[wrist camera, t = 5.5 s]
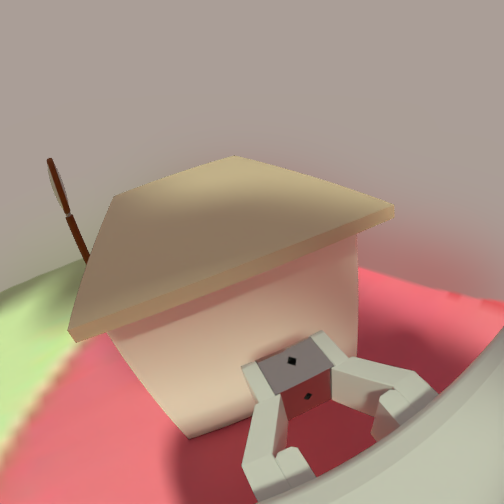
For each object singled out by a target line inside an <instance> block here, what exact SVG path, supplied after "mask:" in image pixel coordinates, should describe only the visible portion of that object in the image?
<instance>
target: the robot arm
mask: <svg viewBox="0 0 504 504" xmlns="http://www.w3.org/2000/svg"><path fill="white" fill-rule="evenodd" d="M241 370H242V373H243V375H244V378H245V380H246V383H247V385H248V388H249V390H250V392H251V395H252V397H253V399H254V401H255V403H256V405H255V406H254V411H253V415H252V420H251V425H250V429H249V434H248V439H247V443H246V448H245V452H244V457H243V461H242V465H241V466H242V468H243V471H244V473H245V475H246V477H247V480H248V482H249V484H250V486H251V488H252V490H253V493H254V495H255V497H256V499H257V501H258V503H255V504H504V326H503V328H502V329H501V330H500V331H499V333H498V334H497V335H496V336H495V337H494V339H493V340H492V341H491V342H490V343H489V344H488V346H487V347H486V348H485V349H484V350H483V351H482V352H481V353H480V355H479V356H478V357H477V358H476V359H475V360H474V361H473V362H472V363H471V364H470V365H469V366H468V367H467V368H466V369H465V370H464V371H463V372H462V373H461V374H460V375H459V376H458V377H457V378H456V379H455V380H454V381H453V382H452V383H451V384H450V385H449V386H448V387H447V388H446V389H444V390H443V391H442V392H441V393H440V394H438V393H437V392H436V391H435V390H434V389H433V388H432V387H431V386H430V385H429V384H428V383H426V382H425V381H424V380H423V379H422V378H421V377H420V376H419V375H418V374H417V373H416V372H415V371H412V370H407V369H403V368H398V367H394V366H390V365H386V364H381V363H377V362H373V361H369V360H365V359H362V358H358V357H354V356H352V357H350V358H349V357H348V356H347V355H346V354H345V353H344V352H343V351H342V350H341V349H340V348H339V347H338V346H337V345H336V344H335V343H334V342H333V340H332V339H331V338H330V337H329V336H328V335H327V334H326V333H325V332H324V331H322V330H320V331H318V332H316V333H314V334H312V335H310V336H308V337H305V338H303V339H301V340H299V341H297V342H295V343H293V344H291V345H289V346H287V347H285V348H282V349H281V350H279V351H277V352H274V353H272V354H269V355H267V356H264V357H262V358H259V359H257V360H255V361H252V362H250V363H247V364H245V365H242V366H241ZM330 399H332V400H333V401H336V402H338V403H340V404H343V405H345V406H348V407H350V408H352V409H355V410H357V411H360V412H362V413H365V414H367V415H370V416H373V417H375V418H374V422H373V426H372V430H371V433H370V434H371V435H372V436H373V437H374V439H375V440H376V441H377V443H375V444H374V445H372V446H370V447H369V448H367V449H366V450H364V451H363V452H361V453H359V454H358V455H356V456H354V457H353V458H351V459H349V460H348V461H346V462H344V463H342V464H341V465H339V466H337V467H335V468H333V469H332V470H330V471H328V472H326V473H324V474H322V475H320V476H318V477H316V476H315V474H314V473H313V471H312V470H311V468H310V466H309V465H308V463H307V462H306V460H305V459H304V457H303V455H302V454H301V452H300V451H299V449H298V448H297V447H289V448H287V449H286V443H287V432H288V421H289V420H291V419H293V418H295V417H297V416H299V415H301V414H303V413H305V412H306V411H308V410H310V409H312V408H314V407H316V406H318V405H320V404H322V403H324V402H326V401H328V400H330Z"/></svg>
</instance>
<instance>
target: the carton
mask: <svg viewBox="0 0 504 504" xmlns="http://www.w3.org/2000/svg"><path fill="white" fill-rule="evenodd" d="M320 330H322V331H324V332H325V333H326V334H327V335H328V336H329V337H330V338H331V339H332V340H333V342H334V343H335V344H336V345H337V346H338V347H339V348H340V349H341V350H342V351H343V352H344V353H345V354H346V355H347V356H348V357H349V358H350V357H352V356H354V357H357V341H358V254H357V234H355V235H353V236H350V237H348V238H345V239H343V240H341V241H338V242H336V243H334V244H331V245H329V246H326V247H324V248H322V249H319V250H317V251H314V252H312V253H309V254H307V255H305V256H302V257H300V258H297V259H295V260H292V261H290V262H288V263H285V264H283V265H280V266H278V267H275V268H273V269H270V270H268V271H265V272H263V273H260V274H258V275H255V276H253V277H250V278H248V279H245V280H243V281H240V282H238V283H235V284H232V285H230V286H227V287H225V288H222V289H220V290H217V291H215V292H212V293H209V294H207V295H204V296H202V297H199V298H196V299H194V300H191V301H189V302H186V303H183V304H181V305H178V306H175V307H173V308H170V309H168V310H165V311H162V312H160V313H157V314H154V315H152V316H149V317H146V318H143V319H141V320H138V321H135V322H133V323H130V324H127V325H124V326H122V327H119V328H116V329H113V330H111V331H108V332H107V334H108V335H109V337H110V338H111V340H112V341H113V343H114V345H115V346H116V348H117V349H118V351H119V352H120V353H121V355H122V356H123V358H124V359H125V361H126V362H127V364H128V365H129V366H130V368H131V369H132V371H133V372H134V373H135V375H136V376H137V377H138V379H139V380H140V381H141V383H142V384H143V385H144V387H145V388H146V389H147V391H148V392H149V393H150V394H151V396H152V397H153V398H154V399H155V401H156V402H157V403H158V404H159V406H160V407H161V408H162V409H163V410H164V412H165V413H166V414H167V415H168V416H169V418H170V419H171V420H172V421H173V422H174V423H175V424H176V426H177V427H178V428H179V429H180V430H181V431H182V432H183V433H184V434H185V436H186V437H187V438H188V439H191V438H194V437H197V436H200V435H203V434H206V433H209V432H211V431H214V430H217V429H220V428H222V427H225V426H228V425H230V424H233V423H236V422H238V421H241V420H243V419H246V418H248V417H250V416H252V415H253V411H254V406H255V405H256V403H255V401H254V399H253V397H252V395H251V392H250V390H249V388H248V385H247V383H246V380H245V378H244V375H243V373H242V370H241V366H242V365H245V364H247V363H250V362H252V361H255V360H257V359H259V358H262V357H264V356H267V355H269V354H272V353H274V352H277V351H279V350H281V349H282V348H285V347H287V346H289V345H291V344H293V343H295V342H297V341H299V340H301V339H303V338H305V337H308V336H310V335H312V334H314V333H316V332H318V331H320Z"/></svg>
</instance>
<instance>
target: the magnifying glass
mask: <svg viewBox="0 0 504 504" xmlns="http://www.w3.org/2000/svg"><path fill="white" fill-rule="evenodd" d="M47 164H48V173H49V178H50V182H51V185H52V188H53V191H54V193H55V196H56V198H57V200H58V202H59V204H60V206H61V207H62V208H63V210H64V212H65V214H66V216H67V217H66V220H67V223H68V225H69V227H70V230H71V232H72V234H73V237H74V239H75V241H76V244H77V245H78V248H79V250H80V252H81V254H82V257H83V259H84V261H85V263H86V265H87V262H88V260H89V257H90V254H89V252H88V250H87V247H86V245H85V243H84V241H83V238H82V236H81V234H80V231H79V229H78V227H77V224H76V222H75V219H74V217H73V215H72V214H71V213H70V208H69V205H68V199H67V195H66V191H65V188H64V185H63V182H62V179H61V177H60V175H59V172H58V170H57V168H56V166H55V164H54V162H53V160H52V158H49V159H47Z"/></svg>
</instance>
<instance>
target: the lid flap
mask: <svg viewBox="0 0 504 504" xmlns="http://www.w3.org/2000/svg"><path fill="white" fill-rule="evenodd" d="M392 218H394V204H391V203H388V202H386V201H383V200H380V199H377V198H374V197H372V196H369V195H366V194H364V193H361V192H357V191H355V190H352V189H349V188H346V187H343V186H340V185H337V184H334V183H331V182H328V181H325V180H321V179H318V178H315V177H312V176H308V175H305V174H302V173H298V172H295V171H291V170H288V169H284V168H281V167H277V166H274V165H269V164H266V163H262V162H258V161H255V160H251V159H247V158H242V157H238V156H235V155H234V156H231V157H228V158H224V159H220V160H217V161H214V162H210V163H207V164H204V165H201V166H198V167H194V168H192V169H188V170H185V171H182V172H179V173H176V174H173V175H170V176H167V177H164V178H162V179H159V180H156V181H153V182H150V183H148V184H145V185H142V186H140V187H137V188H134V189H132V190H129V191H126V192H124V193H121V194H119V195H116V196H114V197H113V199H112V202H111V204H110V206H109V208H108V211H107V213H106V215H105V218H104V220H103V223H102V225H101V228H100V230H99V233H98V236H97V238H96V240H95V243H94V246H93V248H92V251H91V254H90V257H89V260H88V262H87V265H86V268H85V271H84V274H83V277H82V280H81V284H80V287H79V290H78V293H77V297H76V300H75V303H74V307H73V311H72V314H71V318H70V322H69V326H68V330H67V331H68V332H69V334H70V335H71V337H72V338H73V339H74V341H75V342H76V343H77V342H80V341H83V340H86V339H88V338H91V337H94V336H97V335H100V334H102V333H105V332H108V331H111V330H113V329H116V328H119V327H122V326H124V325H127V324H130V323H133V322H135V321H138V320H141V319H143V318H146V317H149V316H152V315H154V314H157V313H160V312H162V311H165V310H168V309H170V308H173V307H175V306H178V305H181V304H183V303H186V302H189V301H191V300H194V299H196V298H199V297H202V296H204V295H207V294H209V293H212V292H215V291H217V290H220V289H222V288H225V287H227V286H230V285H232V284H235V283H238V282H240V281H243V280H245V279H248V278H250V277H253V276H255V275H258V274H260V273H263V272H265V271H268V270H270V269H273V268H275V267H278V266H280V265H283V264H285V263H288V262H290V261H292V260H295V259H297V258H300V257H302V256H305V255H307V254H309V253H312V252H314V251H317V250H319V249H322V248H324V247H326V246H329V245H331V244H334V243H336V242H338V241H341V240H343V239H345V238H348V237H350V236H353V235H355V234H357V233H360V232H362V231H364V230H366V229H369V228H371V227H374V226H376V225H378V224H381V223H383V222H385V221H388V220H390V219H392Z"/></svg>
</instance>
